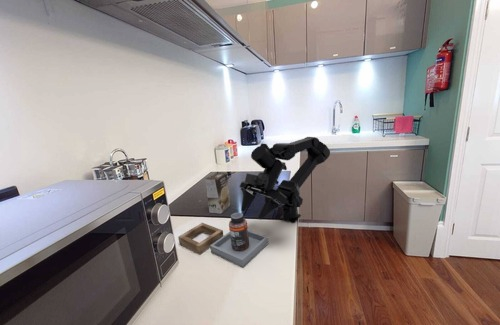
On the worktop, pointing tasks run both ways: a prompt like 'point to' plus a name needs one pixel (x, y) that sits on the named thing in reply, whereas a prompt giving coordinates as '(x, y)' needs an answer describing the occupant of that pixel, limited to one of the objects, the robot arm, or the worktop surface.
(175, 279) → the worktop surface
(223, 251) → the grey tray
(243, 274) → the worktop surface
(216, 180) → the coffee box
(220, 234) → the walnut holder
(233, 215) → the supplement bottle
